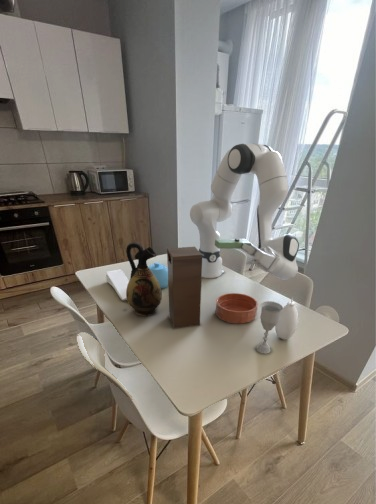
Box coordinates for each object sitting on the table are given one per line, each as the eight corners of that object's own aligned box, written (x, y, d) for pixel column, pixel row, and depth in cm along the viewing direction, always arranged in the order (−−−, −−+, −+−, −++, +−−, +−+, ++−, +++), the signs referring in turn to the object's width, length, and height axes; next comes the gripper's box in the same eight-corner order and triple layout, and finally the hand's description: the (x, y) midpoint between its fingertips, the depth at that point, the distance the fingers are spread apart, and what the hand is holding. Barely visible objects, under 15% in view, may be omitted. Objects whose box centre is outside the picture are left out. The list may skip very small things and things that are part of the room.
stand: (169, 316, 125) (166, 248, 109) (193, 313, 128) (194, 246, 111) (173, 328, 117) (172, 256, 101) (199, 324, 120) (202, 254, 103)
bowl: (210, 307, 133) (211, 295, 129) (245, 303, 136) (247, 291, 133) (223, 326, 118) (225, 314, 115) (262, 321, 122) (264, 309, 119)
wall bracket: (139, 308, 142) (121, 281, 160) (142, 295, 138) (123, 269, 157) (120, 308, 137) (103, 280, 155) (122, 295, 133) (105, 268, 151)
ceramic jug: (166, 304, 134) (164, 239, 117) (156, 321, 122) (152, 251, 105) (132, 300, 137) (125, 236, 121) (119, 316, 125) (109, 247, 108)
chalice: (249, 349, 106) (256, 306, 96) (259, 341, 110) (267, 299, 100) (267, 357, 102) (276, 313, 92) (276, 349, 106) (286, 306, 96)
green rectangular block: (214, 245, 110) (215, 237, 108) (245, 245, 113) (246, 237, 111) (218, 248, 106) (219, 240, 105) (250, 248, 110) (251, 240, 108)
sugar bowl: (177, 285, 152) (177, 264, 145) (152, 292, 145) (150, 270, 138) (163, 276, 162) (162, 256, 156) (139, 282, 155) (137, 261, 149)
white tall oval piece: (291, 346, 108) (302, 303, 98) (270, 340, 111) (279, 298, 101) (295, 335, 113) (306, 294, 103) (275, 330, 116) (284, 289, 106)
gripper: (258, 243, 123) (233, 228, 117) (282, 259, 107) (255, 242, 100) (249, 256, 125) (225, 242, 119) (272, 274, 109) (245, 258, 103)
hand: (239, 243), depth 109 cm, fingers closed on green rectangular block, 4 cm apart
